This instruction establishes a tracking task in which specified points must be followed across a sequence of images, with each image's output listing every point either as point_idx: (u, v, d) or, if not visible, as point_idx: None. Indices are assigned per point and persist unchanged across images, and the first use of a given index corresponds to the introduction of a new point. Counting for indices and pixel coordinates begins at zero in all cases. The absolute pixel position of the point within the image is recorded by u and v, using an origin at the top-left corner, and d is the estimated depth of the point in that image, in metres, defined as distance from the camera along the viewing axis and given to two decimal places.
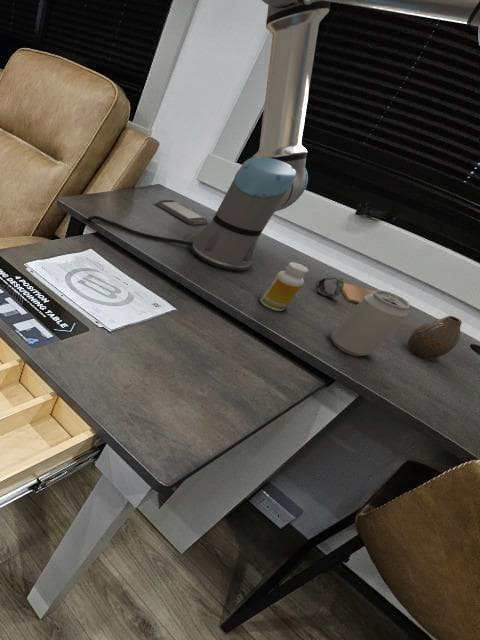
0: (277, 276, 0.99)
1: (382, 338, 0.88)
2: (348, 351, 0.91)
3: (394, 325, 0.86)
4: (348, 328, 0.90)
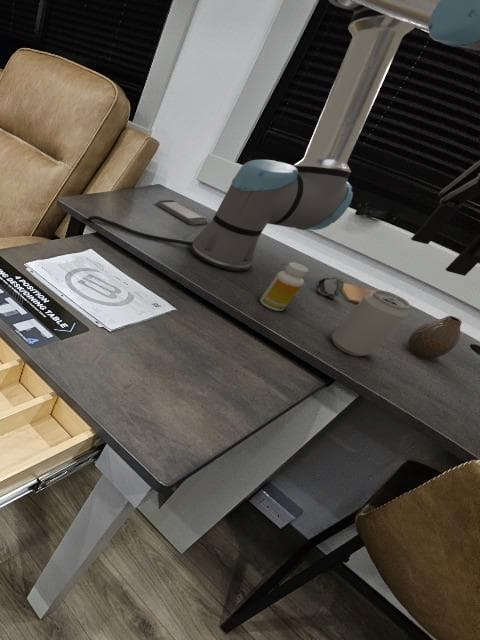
0: (277, 276, 0.99)
1: (382, 338, 0.88)
2: (348, 351, 0.91)
3: (394, 325, 0.86)
4: (348, 328, 0.90)
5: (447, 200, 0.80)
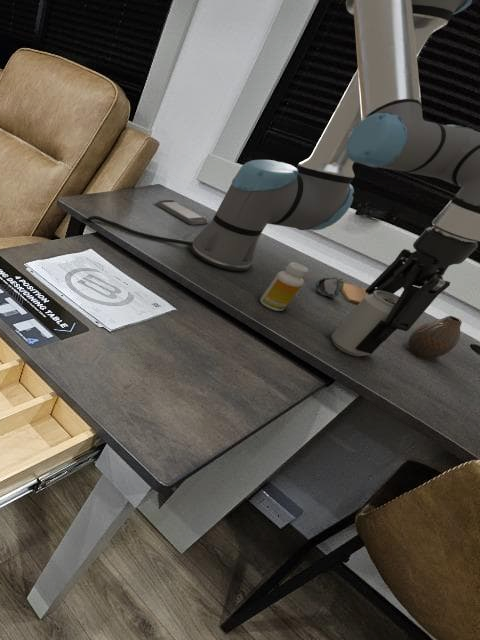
0: (277, 276, 0.99)
1: None
2: (348, 351, 0.91)
3: None
4: (348, 328, 0.90)
5: None
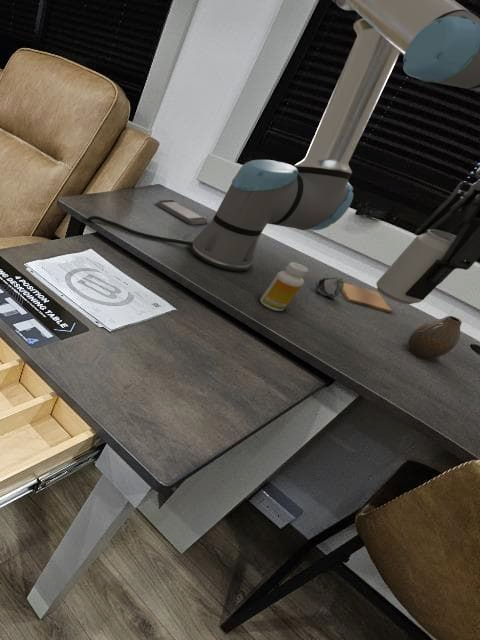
0: (277, 276, 0.99)
1: None
2: (396, 299, 0.83)
3: None
4: (397, 272, 0.82)
5: None
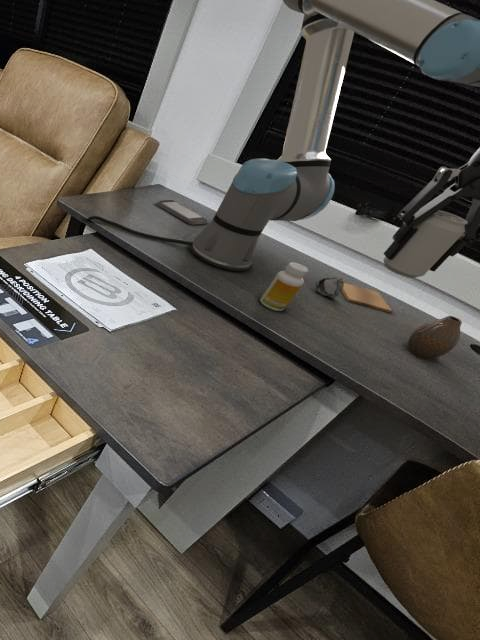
0: (277, 276, 0.99)
1: (407, 247, 0.90)
2: (384, 261, 0.96)
3: (419, 232, 0.88)
4: None
5: None
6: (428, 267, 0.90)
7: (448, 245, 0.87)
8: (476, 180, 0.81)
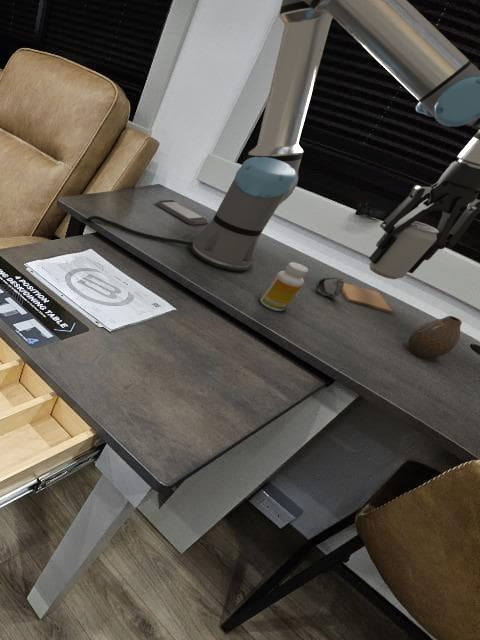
0: (277, 276, 0.99)
1: (389, 253, 1.05)
2: (369, 265, 1.11)
3: (399, 240, 1.03)
4: None
5: None
6: (407, 270, 1.05)
7: (423, 251, 1.02)
8: (445, 196, 0.96)
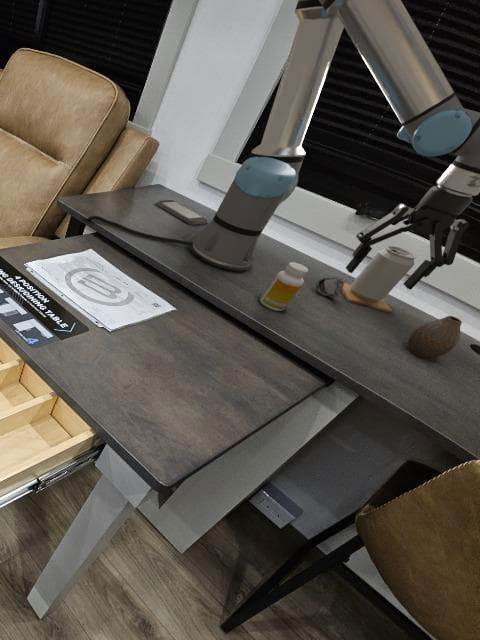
0: (277, 276, 0.99)
1: (369, 277, 1.09)
2: (351, 287, 1.15)
3: (378, 265, 1.07)
4: None
5: (431, 256, 1.05)
6: (386, 292, 1.09)
7: (401, 275, 1.06)
8: (425, 219, 0.99)
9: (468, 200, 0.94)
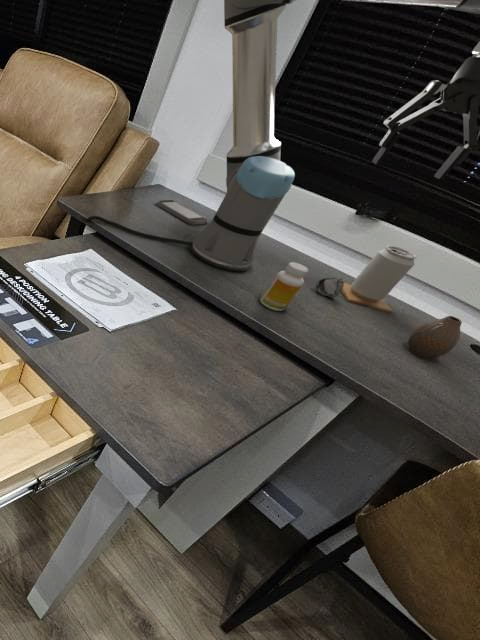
0: (277, 276, 0.99)
1: (369, 277, 1.09)
2: (351, 287, 1.15)
3: (378, 265, 1.07)
4: None
5: (464, 141, 0.99)
6: (386, 293, 1.09)
7: (401, 275, 1.06)
8: (459, 94, 0.93)
9: None
